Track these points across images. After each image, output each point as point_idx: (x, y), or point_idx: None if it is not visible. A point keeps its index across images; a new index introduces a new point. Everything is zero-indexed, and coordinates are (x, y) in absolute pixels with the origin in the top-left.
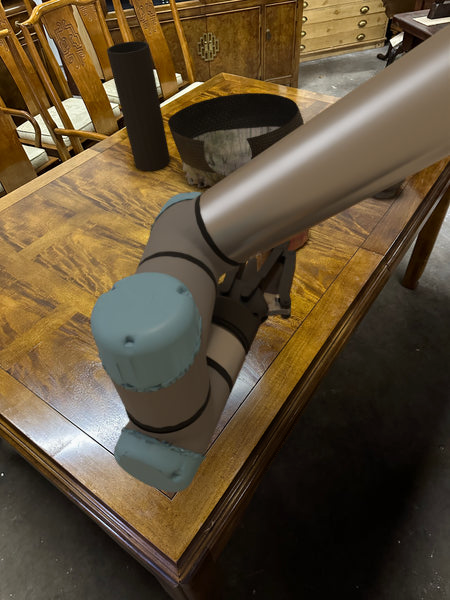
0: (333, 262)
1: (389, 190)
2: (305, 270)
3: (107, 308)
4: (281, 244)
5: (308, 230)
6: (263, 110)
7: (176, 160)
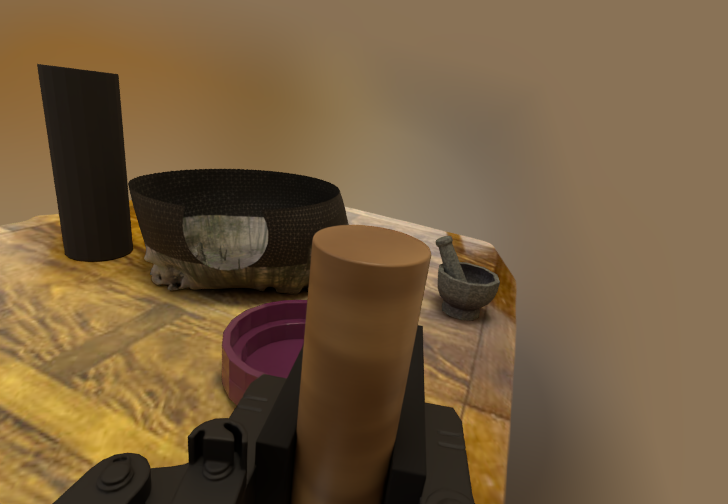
0: None
1: (475, 309)
2: None
3: None
4: (439, 475)
5: None
6: (287, 196)
7: (143, 251)
